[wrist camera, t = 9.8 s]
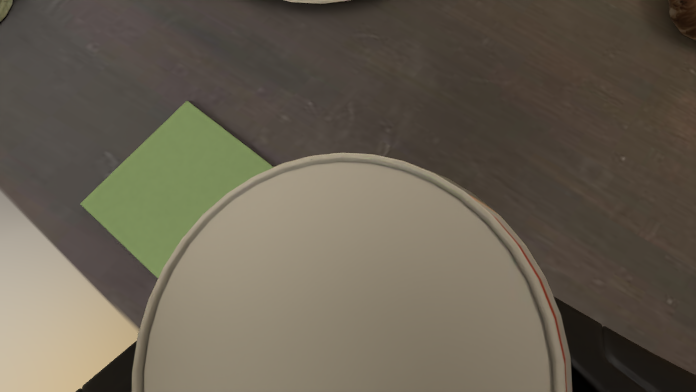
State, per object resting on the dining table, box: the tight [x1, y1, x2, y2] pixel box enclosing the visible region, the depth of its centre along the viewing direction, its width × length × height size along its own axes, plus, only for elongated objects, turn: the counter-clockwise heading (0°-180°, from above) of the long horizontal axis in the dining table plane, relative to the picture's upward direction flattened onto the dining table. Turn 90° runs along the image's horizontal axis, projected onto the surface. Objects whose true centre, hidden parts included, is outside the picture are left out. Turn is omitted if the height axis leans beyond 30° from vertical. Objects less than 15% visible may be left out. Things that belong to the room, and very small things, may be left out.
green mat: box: [80, 101, 274, 278], centre depth 23 cm, size 10×20×1 cm, turn 51°
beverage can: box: [132, 153, 572, 392], centre depth 9 cm, size 6×7×12 cm
